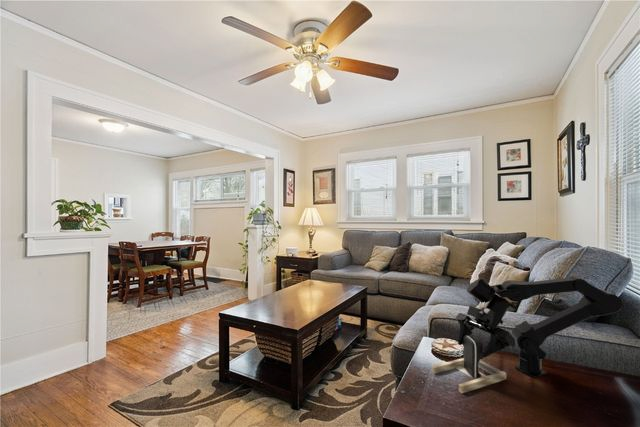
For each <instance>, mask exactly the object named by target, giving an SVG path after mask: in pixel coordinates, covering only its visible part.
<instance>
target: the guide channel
mask: <svg viewBox="0 0 640 427" xmlns="http://www.w3.org/2000/svg"><path fill="white" fill-rule="evenodd" d="M430 369H431V370H430V372H431V374H433V375H436V374H439V373H442V372H443V373H444V372H446V371H450V370H454V369H457V370H458V371H460V372H461V373H463V374H464V375H466V376H468V377H470V378H471V379H472V380H468V381H465V382H462V383H459V384H458V392H459V393H461V394H464V393H467V392H471V391H474V390H477V389H481V388H483V387H487V386H490V385H493V384H496V383H499V382H503V381H506V380H507V372H505V371H504V370H503V371H502V370H499V369H498V368H496V367H495V366H493V365H490V364H488V363H486V362H484V361H482V359H480V361H479V362H478V369H481V370H483V371H484V372H486V373H488V374H490V375H485V374H484V373H482V372H481V371H479V373H480V374H481V377H479V378H473V377H472V376H471V375H470V374H469V373H468V372H467V370H466V369H465V368H464V357H462V358H458V359H454V360H453V359H452V360H449V361H447V362H443V363H439V364H434V365H431V366H430Z"/></svg>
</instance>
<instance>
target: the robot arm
mask: <svg viewBox="0 0 640 427" xmlns="http://www.w3.org/2000/svg"><path fill="white" fill-rule="evenodd" d="M466 292H467V293H468V294H469V295H470V296H472V297H473V298H474V299H476V300H477V301H478V302H480V303H487V304H486V306H485V307H483V306H482V307H480V308H479V307H475V306H473V305H469V307H468V310H467V313H466V314H465V313H462V312H459V313H457V315H456V316H455V319H456V321H457V323H458V324H459V335H458V341H457V344H458V346H462V345H464V337H465V336H472V334H473V330H479V331H481V332H484V333H486V334H488V335H490V338H489V339H490V340H489V342H488V343H487V345H486V347H484V349H483V354H482V356H483V359H485V358H486V357H488V356H490V355H493V354H494V353H496V352H499V351H502V350H504V349H507V350H508V349H514V348H515V345H517V347H518V348H519V349H520V351H519V358H518V359H519V360H518V365H515V366H514V368H515V369H516V370H518V371H520V372H522V373H524V374H526V375H528V376H530V377H532V378H537V377H540V376H544V375H547V371H546V370H544V369H542V366H543V365H542V362H543V361H542V360H545V357H546V356H547V353H546V352H545V351H544V350H543V349H542V348H541V346H542V345H543V344H544V342H545V341H546V340H547V338H549V337H551V336H553V335H556V334H557V333H559V332H561V331H564V330H565V329H567V328H571V327H572V326H574V325H577V324H579V323H581V322H583V321H585V320H587V319H589V318H593V317H599V316H600V317H601V316H602V317H603V316H608V315H611V314H615V313H618V312H619V311H621V310H622V306H623V301H622V299H621V297H619V296H618V295H616V294H614V293H613V292H609V291H606V290H604V289H600V288H598V287H596V286H594V285H592V284H591V283H589V282H587V281H586V280H585V279H583V278H581V277H578V276H570V277H563V278H554V279H545V280H538V281H537V280H536V281H535V280H534V281H524V280H511V279H510V280H505V281H502V283H501V284H500V283H499V284H495V285H491V284H489V283H488V282H486V281H485V280H484V279H483V278H481V277H479V278H478V279H476V280H474V281H473V282H471V283H470V284H469V286H468V287H467V289H466ZM570 292H578V293H579V294H581V295H582V297H581V298H580V300H579V302H578V303H575V304H574V305H572V306H569V307H568V308H565V309H563V310H561V311H559V312H557V313H555V314H554V315H551V316H549V317H546V318H545V319H542V320H541V321H539V322H536V323H529V322H528V321H527V320H523V321H522V322H521V323H520V324H515V325H514V328H513V329H511V332H509V331H508V330H506V329H504V328H501V327H498V326H499V325H503V323H504V321H503V318H504V316H505V315H506V313H507V312H508V311H517V306H516V304H515V302H521V301H524V300H528V299H531V298H532V297H535V296H540V295H542V296H543V295H550V294H552V295H553V294H559V293H562V294H563V293H570ZM509 300H510V301H509ZM471 317H472V318H471Z"/></svg>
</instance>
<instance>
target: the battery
mask: <svg viewBox="0 0 640 427" xmlns="http://www.w3.org/2000/svg"><path fill="white" fill-rule="evenodd" d="M483 351H484V346H483V343H482V342H481V341H480V340H479V339H478V338H477V337H475V336H473V335H470V336H465V337H464V343H463V358H464V368H465V369H466V370H467V372H468V373H469V374H470V375H471V376H472V377H473V378H479V377H481V374H480V373H481V372H480V371H479V367H478V362H479V361H480V360H484V357H483V356H482V354H483ZM479 372H480V373H479ZM473 378H472V379H473Z"/></svg>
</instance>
